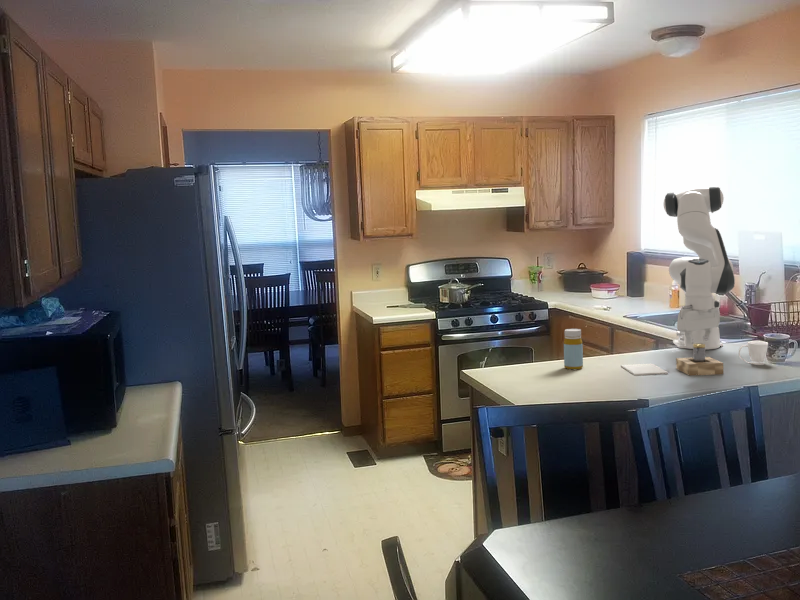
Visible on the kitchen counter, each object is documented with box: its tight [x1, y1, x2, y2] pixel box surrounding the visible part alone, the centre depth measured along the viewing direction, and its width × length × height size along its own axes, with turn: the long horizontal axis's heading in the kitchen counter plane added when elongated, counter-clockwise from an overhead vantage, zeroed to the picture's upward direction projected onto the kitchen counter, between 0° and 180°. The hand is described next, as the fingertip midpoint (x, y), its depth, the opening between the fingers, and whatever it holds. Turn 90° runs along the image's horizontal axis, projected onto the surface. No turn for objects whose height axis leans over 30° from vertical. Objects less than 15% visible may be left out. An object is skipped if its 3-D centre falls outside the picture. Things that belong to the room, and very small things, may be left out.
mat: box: [620, 363, 669, 376], centre depth 251 cm, size 16×12×1 cm
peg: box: [692, 343, 706, 363], centre depth 244 cm, size 4×4×10 cm
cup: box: [738, 340, 769, 366], centre depth 253 cm, size 7×10×8 cm
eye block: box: [675, 356, 724, 377], centre depth 245 cm, size 12×12×4 cm
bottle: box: [563, 328, 584, 370], centre depth 260 cm, size 7×7×15 cm
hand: (698, 342), depth 243 cm, fingers open, 8 cm apart
